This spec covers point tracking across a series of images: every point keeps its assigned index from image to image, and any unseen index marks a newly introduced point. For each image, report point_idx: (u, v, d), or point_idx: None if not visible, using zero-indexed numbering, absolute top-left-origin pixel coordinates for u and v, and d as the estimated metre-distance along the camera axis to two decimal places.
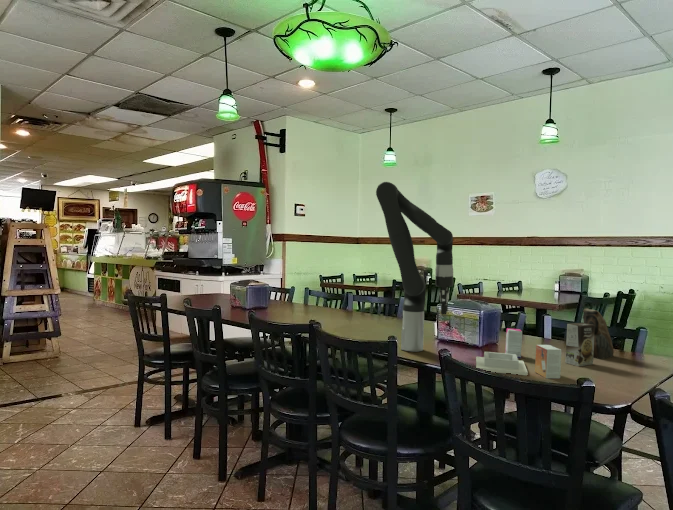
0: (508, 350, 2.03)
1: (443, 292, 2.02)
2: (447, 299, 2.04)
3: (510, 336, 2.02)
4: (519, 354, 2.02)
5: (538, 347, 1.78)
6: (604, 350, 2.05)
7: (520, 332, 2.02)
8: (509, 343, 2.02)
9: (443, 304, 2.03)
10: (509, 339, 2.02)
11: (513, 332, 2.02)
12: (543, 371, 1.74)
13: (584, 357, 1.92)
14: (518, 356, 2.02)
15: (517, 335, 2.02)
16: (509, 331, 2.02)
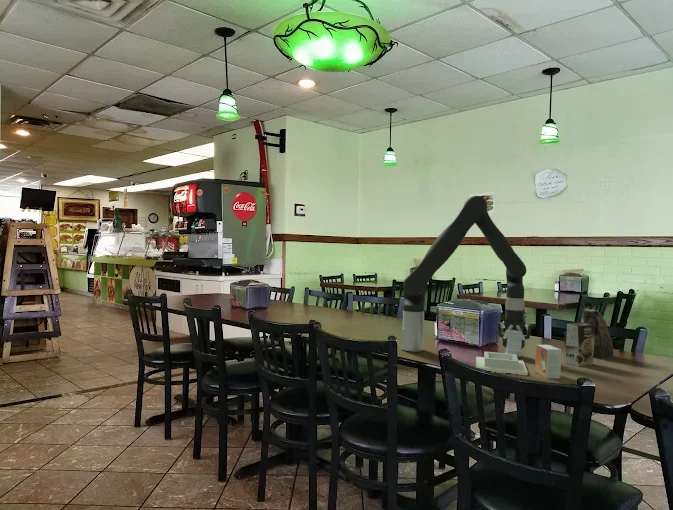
0: (508, 350, 2.03)
1: None
2: None
3: (510, 336, 2.02)
4: (519, 354, 2.02)
5: (538, 347, 1.78)
6: (604, 350, 2.05)
7: (520, 332, 2.02)
8: (509, 343, 2.02)
9: None
10: (509, 339, 2.02)
11: (513, 332, 2.02)
12: (543, 371, 1.74)
13: (584, 357, 1.92)
14: (518, 356, 2.02)
15: (517, 335, 2.02)
16: (509, 330, 2.02)
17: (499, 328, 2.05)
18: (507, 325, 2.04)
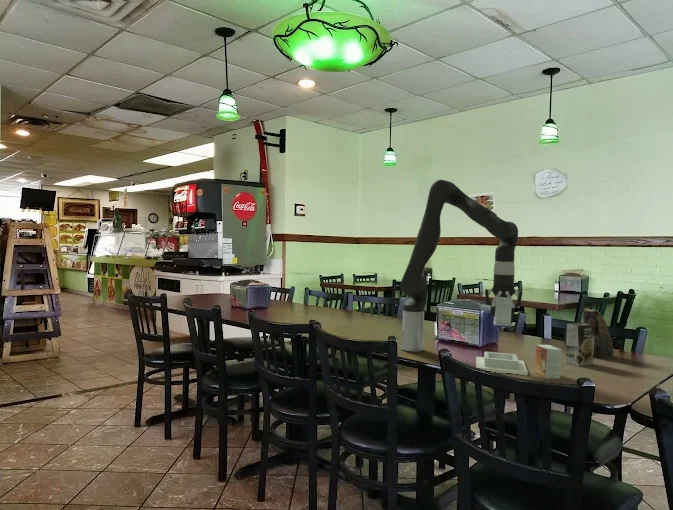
0: (496, 319, 1.84)
1: None
2: None
3: (499, 303, 1.84)
4: (509, 323, 1.83)
5: (538, 347, 1.78)
6: (604, 350, 2.05)
7: (509, 299, 1.83)
8: (497, 311, 1.84)
9: (517, 306, 1.85)
10: (497, 307, 1.84)
11: (502, 299, 1.83)
12: (543, 371, 1.74)
13: (584, 357, 1.92)
14: (507, 325, 1.83)
15: (506, 302, 1.83)
16: (498, 297, 1.84)
17: (487, 295, 1.86)
18: (495, 292, 1.86)
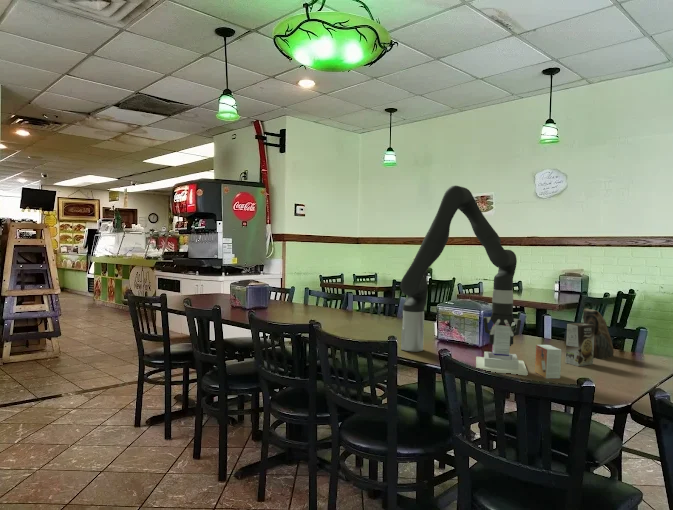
0: (495, 347, 1.84)
1: None
2: None
3: (497, 332, 1.84)
4: (508, 352, 1.83)
5: (538, 347, 1.78)
6: (604, 350, 2.05)
7: (508, 327, 1.83)
8: (496, 340, 1.84)
9: None
10: (496, 335, 1.84)
11: (500, 327, 1.83)
12: (543, 371, 1.74)
13: (584, 357, 1.92)
14: (506, 354, 1.83)
15: (505, 331, 1.83)
16: (496, 326, 1.84)
17: (485, 323, 1.86)
18: (494, 320, 1.86)
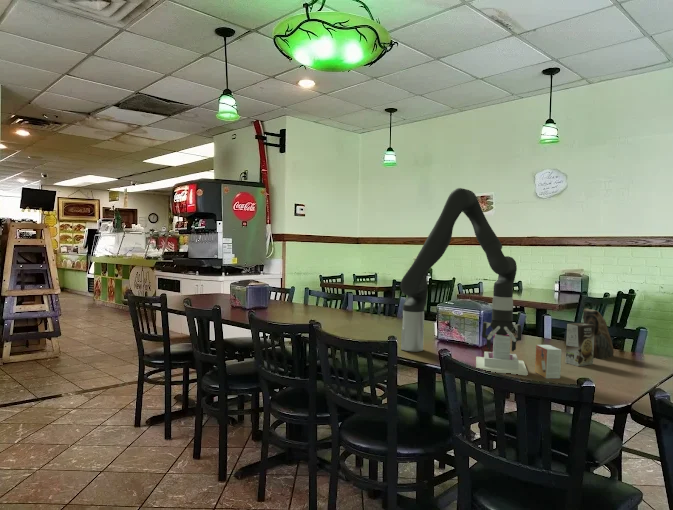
0: (495, 357, 1.84)
1: None
2: (512, 334, 1.86)
3: (497, 342, 1.84)
4: None
5: (538, 347, 1.78)
6: (604, 350, 2.05)
7: (508, 337, 1.83)
8: (496, 349, 1.84)
9: None
10: (496, 345, 1.84)
11: (500, 337, 1.83)
12: (543, 371, 1.74)
13: (584, 357, 1.92)
14: None
15: (505, 341, 1.83)
16: (496, 336, 1.84)
17: (484, 328, 1.87)
18: (494, 327, 1.86)
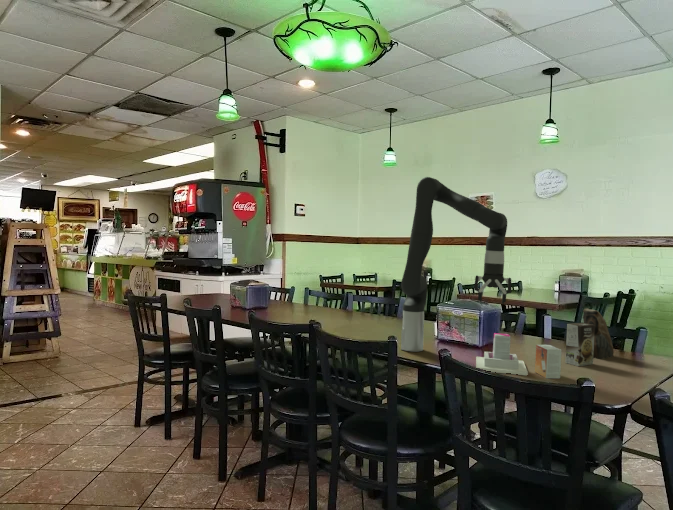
0: (495, 357, 1.84)
1: None
2: None
3: (497, 342, 1.84)
4: None
5: (538, 347, 1.78)
6: (604, 350, 2.05)
7: (508, 337, 1.83)
8: (496, 349, 1.84)
9: None
10: (496, 345, 1.84)
11: (500, 337, 1.84)
12: (543, 371, 1.74)
13: (584, 357, 1.92)
14: None
15: (505, 341, 1.83)
16: (496, 336, 1.84)
17: (476, 281, 1.95)
18: (485, 280, 1.94)
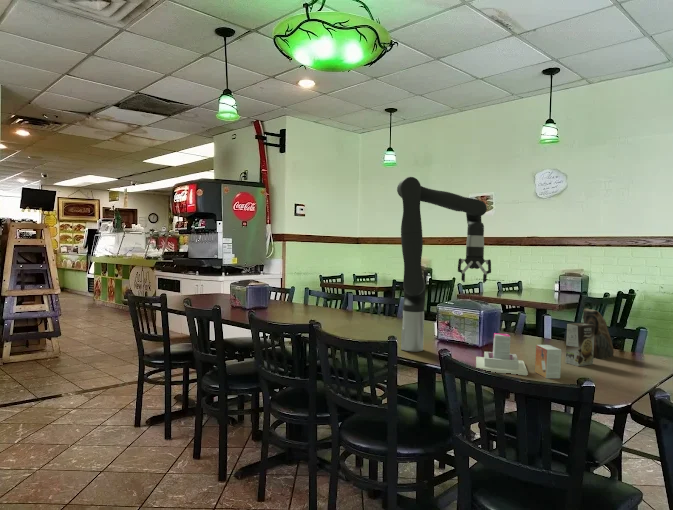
0: (495, 357, 1.84)
1: None
2: None
3: (497, 342, 1.84)
4: None
5: (538, 347, 1.78)
6: (604, 350, 2.05)
7: (508, 337, 1.83)
8: (496, 349, 1.84)
9: (488, 273, 2.13)
10: (496, 345, 1.84)
11: (500, 337, 1.84)
12: (543, 371, 1.74)
13: (584, 357, 1.92)
14: None
15: (505, 341, 1.83)
16: (496, 336, 1.84)
17: (459, 263, 2.15)
18: (467, 262, 2.14)
